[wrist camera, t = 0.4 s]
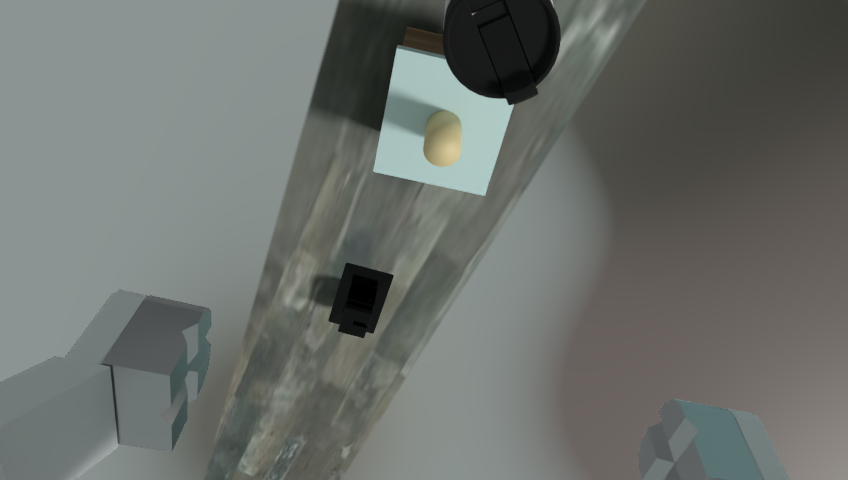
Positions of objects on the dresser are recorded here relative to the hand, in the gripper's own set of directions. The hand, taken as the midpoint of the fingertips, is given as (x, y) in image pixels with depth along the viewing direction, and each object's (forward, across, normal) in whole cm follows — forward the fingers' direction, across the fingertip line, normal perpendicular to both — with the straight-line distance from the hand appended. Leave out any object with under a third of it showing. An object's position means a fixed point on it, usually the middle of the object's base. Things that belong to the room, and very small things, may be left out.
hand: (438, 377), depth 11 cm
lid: (+39, -2, +12) cm, 41 cm away
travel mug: (+45, -3, +1) cm, 45 cm away
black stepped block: (+46, +2, +37) cm, 59 cm away
